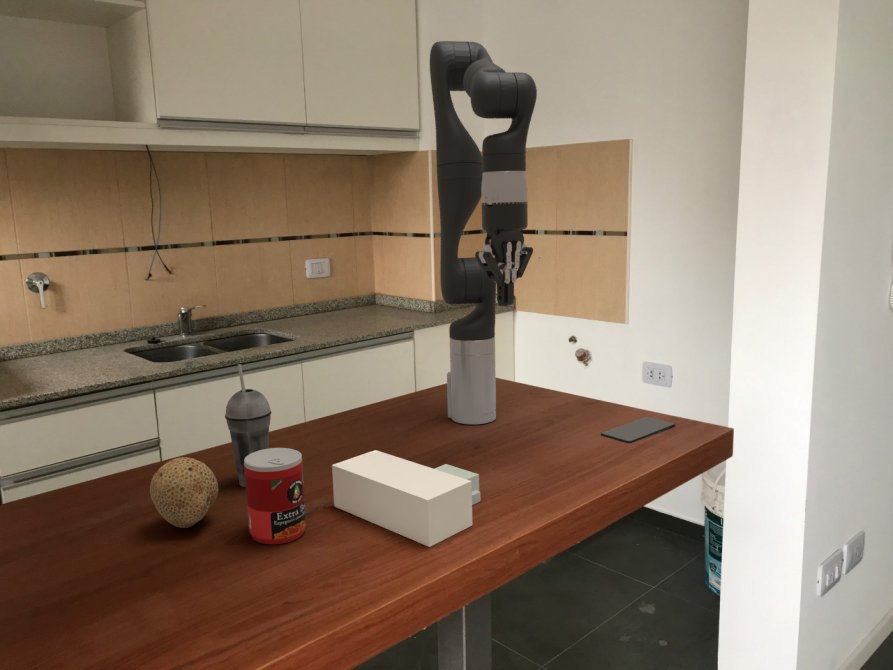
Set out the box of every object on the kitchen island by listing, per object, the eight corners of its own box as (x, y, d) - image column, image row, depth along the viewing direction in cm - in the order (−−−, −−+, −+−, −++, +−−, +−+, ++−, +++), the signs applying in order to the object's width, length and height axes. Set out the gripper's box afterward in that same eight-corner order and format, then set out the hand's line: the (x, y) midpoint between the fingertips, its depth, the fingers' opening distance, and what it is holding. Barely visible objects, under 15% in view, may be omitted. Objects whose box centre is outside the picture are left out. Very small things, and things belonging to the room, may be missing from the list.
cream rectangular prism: (334, 506, 109) (331, 465, 108) (409, 476, 120) (407, 438, 119) (429, 547, 95) (428, 500, 94) (504, 509, 106) (503, 466, 105)
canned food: (279, 550, 95) (273, 471, 93) (236, 537, 100) (230, 460, 98) (318, 528, 102) (314, 453, 100) (277, 516, 106) (272, 444, 104)
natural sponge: (184, 508, 109) (178, 445, 108) (234, 515, 106) (228, 450, 105) (140, 534, 101) (133, 466, 99) (193, 543, 98) (186, 472, 96)
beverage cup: (285, 477, 121) (277, 359, 117) (256, 493, 114) (247, 369, 111) (250, 471, 124) (241, 356, 120) (220, 486, 117) (210, 366, 114)
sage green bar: (370, 513, 106) (369, 494, 105) (446, 481, 117) (446, 463, 117) (403, 527, 101) (402, 507, 101) (479, 492, 113) (478, 474, 112)
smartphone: (599, 433, 138) (646, 415, 148) (599, 437, 138) (646, 420, 148) (629, 441, 133) (676, 423, 142) (629, 446, 133) (676, 427, 143)
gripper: (511, 200, 126) (512, 299, 130) (460, 201, 117) (462, 308, 120) (547, 199, 121) (547, 302, 125) (496, 200, 112) (497, 312, 115)
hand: (505, 305), depth 122 cm, fingers closed
